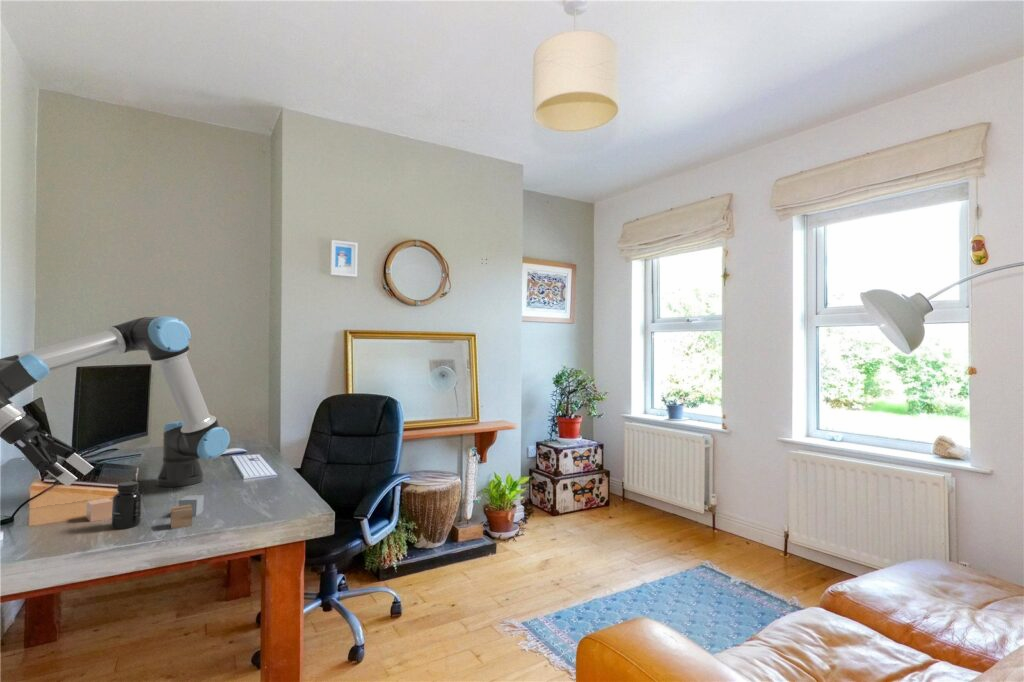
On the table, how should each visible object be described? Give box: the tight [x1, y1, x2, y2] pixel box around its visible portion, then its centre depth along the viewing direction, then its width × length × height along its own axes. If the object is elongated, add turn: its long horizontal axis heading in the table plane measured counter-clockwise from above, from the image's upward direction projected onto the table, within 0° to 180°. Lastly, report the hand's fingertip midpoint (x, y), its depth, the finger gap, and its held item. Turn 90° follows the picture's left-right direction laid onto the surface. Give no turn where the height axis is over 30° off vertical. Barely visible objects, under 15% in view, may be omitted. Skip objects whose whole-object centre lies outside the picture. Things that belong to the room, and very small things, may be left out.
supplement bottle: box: [110, 481, 143, 530], centre depth 147 cm, size 7×7×12 cm
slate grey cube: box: [178, 494, 205, 517], centre depth 159 cm, size 5×5×5 cm
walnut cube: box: [170, 505, 193, 530], centre depth 148 cm, size 5×5×5 cm
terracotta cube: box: [86, 497, 113, 522], centre depth 153 cm, size 5×5×5 cm
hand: (81, 476), depth 143 cm, fingers open, 13 cm apart
